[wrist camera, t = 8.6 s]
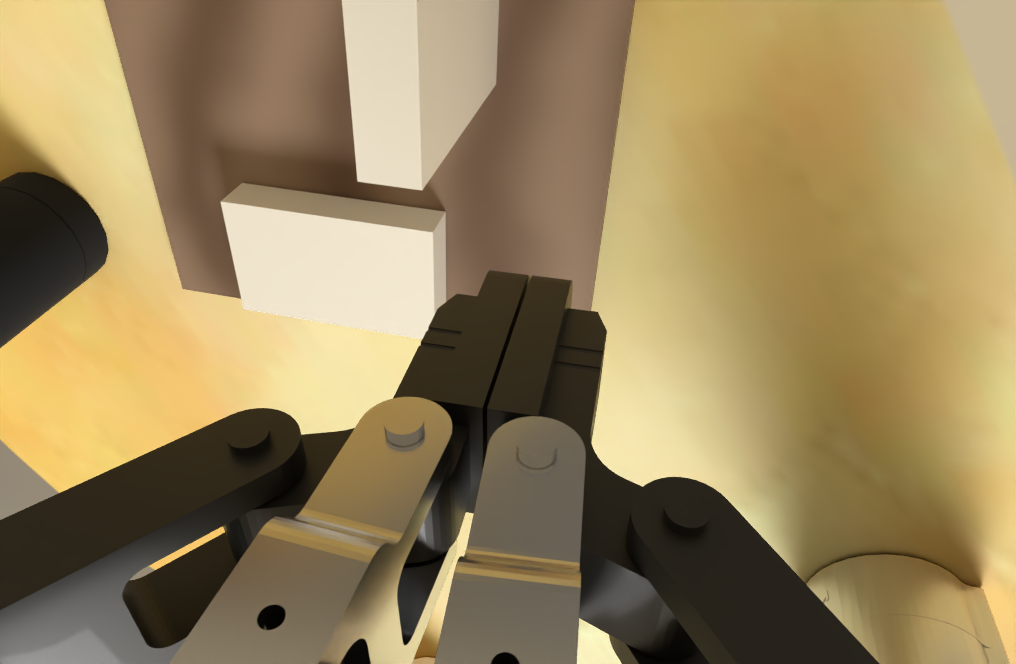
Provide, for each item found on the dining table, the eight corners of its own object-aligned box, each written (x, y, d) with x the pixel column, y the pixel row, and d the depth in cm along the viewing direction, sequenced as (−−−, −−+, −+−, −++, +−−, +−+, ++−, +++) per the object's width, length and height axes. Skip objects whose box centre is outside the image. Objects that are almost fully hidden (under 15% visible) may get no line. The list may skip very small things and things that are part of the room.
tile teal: (432, 232, 31) (220, 201, 33) (435, 341, 35) (243, 309, 36) (446, 210, 33) (243, 181, 34) (446, 316, 36) (263, 287, 38)
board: (651, -113, 25) (649, -109, 24) (586, 341, 37) (583, 355, 36) (83, -156, 28) (62, -154, 27) (194, 277, 40) (182, 288, 39)
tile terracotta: (502, -87, 25) (415, -36, 17) (496, 84, 29) (422, 190, 21) (444, -92, 26) (334, -43, 18) (445, 78, 29) (354, 181, 21)
